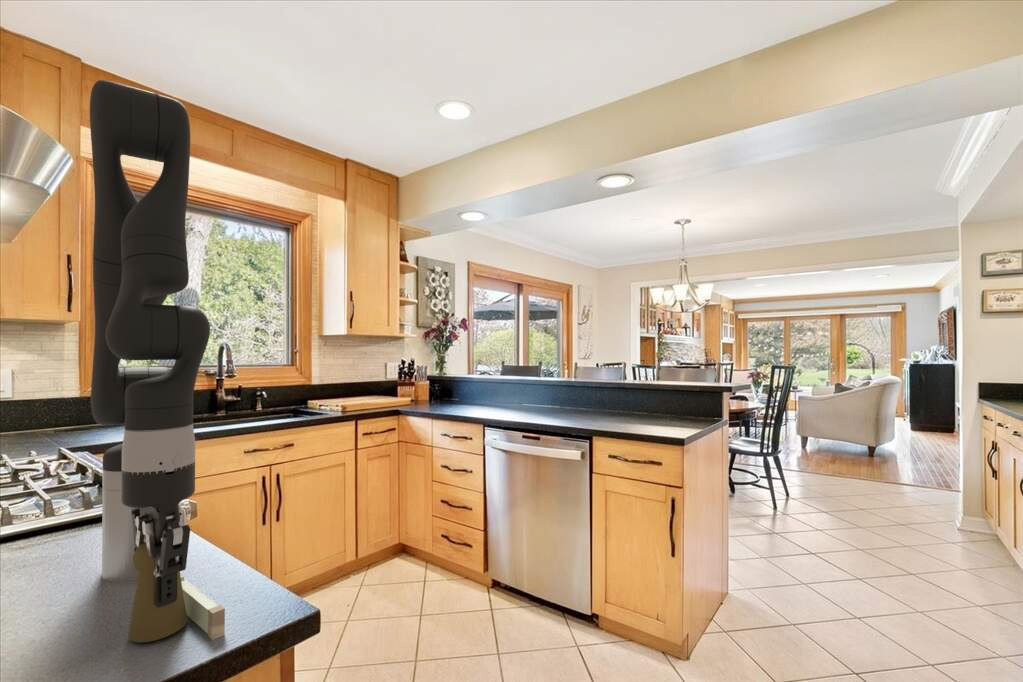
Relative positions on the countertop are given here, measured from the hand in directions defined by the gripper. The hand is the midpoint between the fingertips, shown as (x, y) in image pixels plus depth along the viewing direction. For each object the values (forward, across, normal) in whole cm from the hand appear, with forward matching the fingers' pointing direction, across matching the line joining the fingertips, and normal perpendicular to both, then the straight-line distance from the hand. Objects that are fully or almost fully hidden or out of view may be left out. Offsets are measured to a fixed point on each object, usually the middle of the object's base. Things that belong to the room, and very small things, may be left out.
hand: (158, 596), depth 61 cm
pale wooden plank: (+5, -6, +4) cm, 9 cm away
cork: (+4, 0, 0) cm, 4 cm away
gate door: (+5, -6, +4) cm, 9 cm away
